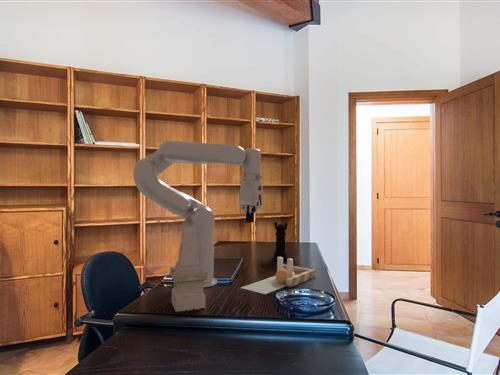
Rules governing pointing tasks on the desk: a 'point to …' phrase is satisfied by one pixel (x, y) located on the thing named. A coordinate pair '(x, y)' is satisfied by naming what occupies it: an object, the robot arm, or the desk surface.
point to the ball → (282, 275)
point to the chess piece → (280, 241)
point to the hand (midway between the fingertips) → (249, 222)
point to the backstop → (299, 275)
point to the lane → (265, 286)
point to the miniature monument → (188, 272)
